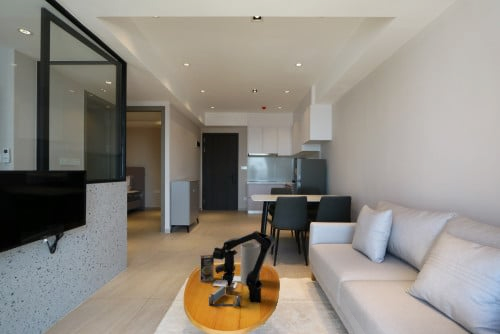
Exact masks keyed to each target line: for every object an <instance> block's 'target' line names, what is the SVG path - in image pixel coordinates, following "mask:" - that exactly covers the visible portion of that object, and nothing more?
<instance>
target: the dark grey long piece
mask: <svg viewBox="0 0 500 334" xmlns="http://www.w3.org/2000/svg"><path fill="white" fill-rule="evenodd" d="M241 296H242V295H241V294H236V297H235V298H236V299H233V300H232V303H214V302H213V293H212V294H210V293H209V295H208V306H209V307H232V308H233V309H234V308H235V309H236V308H238V307H241V304H242V303H241V302H242V301H241V298H242V297H241Z"/></svg>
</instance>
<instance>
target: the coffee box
mask: <svg viewBox="0 0 500 334" xmlns="http://www.w3.org/2000/svg"><path fill="white" fill-rule="evenodd" d="M214 267H215V259H214V258H213V254H208V255H199V281H200V282H201V283H203V282H213V281H214V280H215V279H214V276H215V275H214V270H215V268H214Z"/></svg>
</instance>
